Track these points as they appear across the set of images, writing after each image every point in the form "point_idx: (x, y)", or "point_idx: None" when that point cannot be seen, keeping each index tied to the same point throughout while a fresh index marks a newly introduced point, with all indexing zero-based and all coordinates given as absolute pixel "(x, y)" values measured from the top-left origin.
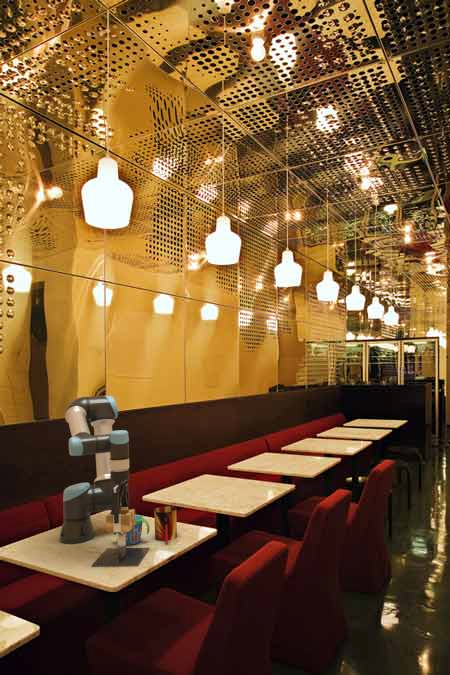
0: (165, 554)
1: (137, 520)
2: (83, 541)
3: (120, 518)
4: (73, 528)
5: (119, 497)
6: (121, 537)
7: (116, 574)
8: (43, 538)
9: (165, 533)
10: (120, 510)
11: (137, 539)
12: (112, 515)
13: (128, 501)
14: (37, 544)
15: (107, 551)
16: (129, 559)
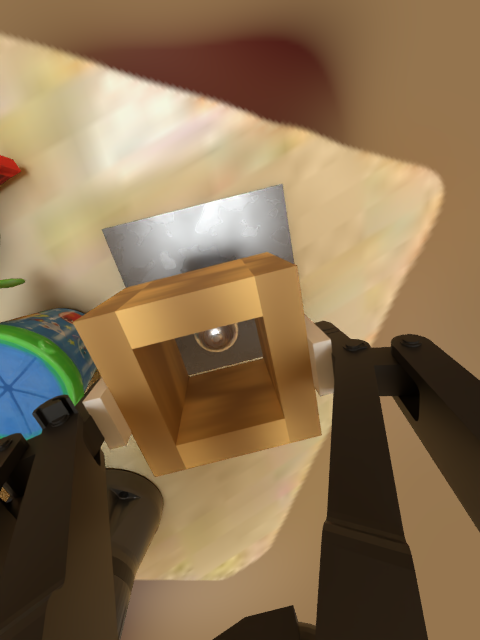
0: (137, 116)
1: (12, 340)
2: (135, 474)
3: (308, 326)
4: (138, 538)
5: (398, 526)
6: None
7: (355, 230)
8: (147, 561)
9: None
10: (158, 422)
11: (69, 312)
12: (303, 403)
13: (10, 454)
14: (188, 547)
15: (190, 364)
16: (240, 248)
